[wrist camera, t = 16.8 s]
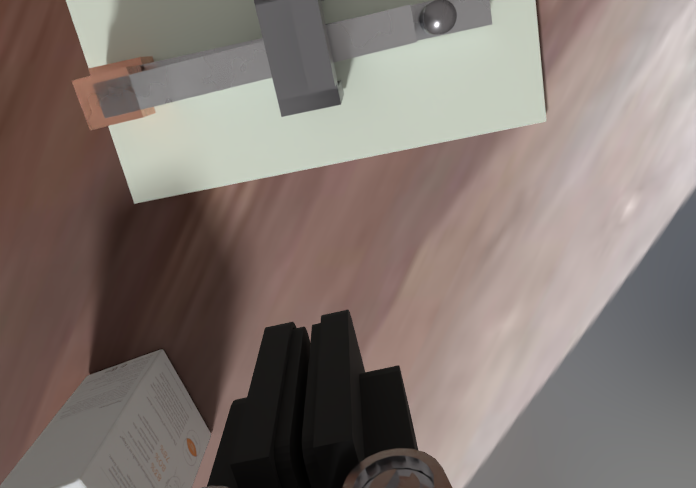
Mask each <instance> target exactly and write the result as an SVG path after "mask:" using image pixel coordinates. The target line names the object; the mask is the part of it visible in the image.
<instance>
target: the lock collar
mask: <svg viewBox="0 0 696 488" xmlns="http://www.w3.org/2000/svg"><path fill="white" fill-rule="evenodd" d="M321 1H324V0H254V4H255V8H256V12H257V16H258V20H259V25H260V29H261V33H262V37H263V41H264V46H265V50H266V54H267V58H268V62H269V66H270V71H271V75H272V79H273V83H274V87H275V92H276V96H277V100H278V104H279V108H280V113H281V117H284V116H289V115H294V114H298V113H303V112H308V111H313V110H318V109H322V108H327V107H332V106H337V105H341V103H342V100H343V96H344V91H343V86H342V81H341V80H340V81H337V78H336V73H335V68H334V63H333V58H332V53H331V49H330V44H329V39H328V34H327V29H326V24H325V19H324V14H323V9H322V4H321Z"/></svg>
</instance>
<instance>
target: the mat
mask: <svg viewBox="0 0 696 488" xmlns="http://www.w3.org/2000/svg"><path fill="white" fill-rule="evenodd" d="M428 1H433V0H324V1H321V4H322V9H323V14H324V19H325V24H328V23H333V22H337V21H342V20H346V19H351V18H356V17H360V16H365V15H369V14H374V13H378V12H382V11H386V10H390V9H394V8H398V7H402V6H406V5H415V4H419V3H424V2H428ZM66 2H67V5H68V8H69V11H70V14H71V17H72V20H73V23H74V26H75V29H76V32H77V35H78V37H79V40H80V43H81V46H82V49H83V52H84V55H85V58H86V61H87V64H88V67H89V68H93V67H97V66H102V65H106V64H111V63H115V62H120V61H124V60H129V59H133V58H138V57H147V56H152V57H153V60H154V62H156V61H160V60H165V59H169V58H174V57H179V56H183V55H188V54H192V53H197V52H201V51H206V50H210V49H215V48H219V47H224V46H228V45H233V44H238V43H242V42H247V41H251V40H256V39H260V38H263V37H262V33H261V29H260V25H259V20H258V16H257V12H256V8H255V4H254V0H66ZM490 7H491V16H492V25H487V26H483V27H478V28H473V29H469V30H464V31H459V32H455V33H450V34H445V35H441V36H436V37H432V38H427V39H422V40H418V41H417V42H416V43H412V44H408V45H404V46H400V47H395V48H391V49H387V50H383V51H379V52H375V53H371V54H367V55H363V56H359V57H355V58H350V59H346V60H342V61H338V62H334V68H335V73H336V78H337V81H340V80H341V81H342V86H343V91H344V96H343V100H342V103H341V105H337V106H332V107H327V108H322V109H318V110H313V111H308V112H303V113H298V114H294V115H289V116H284V117H281V113H280V108H279V104H278V100H277V96H276V92H275V87H274V83H273V79H272V78H269V79H265V80H260V81H256V82H252V83H248V84H244V85H240V86H236V87H232V88H228V89H224V90H220V91H215V92H211V93H207V94H203V95H199V96H195V97H191V98H187V99H183V100H179V101H175V102H170V103H166V104H162V105H158V106H154V109H155V112H156V113H154V114H151V115H149V116H146V117H143V118H139V119H134V120H130V121H126V122H122V123H118V124H114V125H110V126H108V127H109V130H110V133H111V136H112V139H113V141H114V144H115V147H116V150H117V153H118V156H119V159H120V162H121V165H122V168H123V171H124V174H125V177H126V180H127V183H128V186H129V189H130V192H131V195H132V198H133V201H134V204H135V203H140V202H145V201H150V200H155V199H160V198H165V197H170V196H175V195H180V194H185V193H190V192H195V191H200V190H205V189H211V188H216V187H221V186H226V185H231V184H236V183H241V182H246V181H251V180H256V179H261V178H266V177H271V176H276V175H281V174H286V173H291V172H296V171H301V170H306V169H311V168H316V167H321V166H326V165H331V164H336V163H341V162H346V161H351V160H356V159H361V158H366V157H371V156H376V155H381V154H386V153H391V152H396V151H401V150H406V149H411V148H416V147H421V146H426V145H431V144H436V143H441V142H446V141H451V140H456V139H461V138H466V137H471V136H476V135H481V134H486V133H491V132H496V131H501V130H506V129H511V128H516V127H521V126H526V125H531V124H536V123H541V122H546V111H545V100H544V89H543V78H542V67H541V56H540V45H539V34H538V23H537V12H536V1H535V0H490Z"/></svg>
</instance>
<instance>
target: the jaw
mask: <svg viewBox="0 0 696 488" xmlns="http://www.w3.org/2000/svg"><path fill="white" fill-rule="evenodd" d="M326 29H327V34H328V39H329V44H330V49H331V53H332V58H333V63H334V62H338V61H342V60H346V59H350V58H355V57H359V56H363V55H367V54H371V53H375V52H379V51H383V50H387V49H391V48H395V47H400V46H404V45H408V44H412V43H416V42H417V39H416V33H415V28H414V22H413V17H412V11H411V6H410V5H406V6H402V7H398V8H394V9H390V10H386V11H382V12H378V13H374V14H370V15H366V16H362V17H358V18H354V19H350V20H346V21H342V22H338V23H334V24H330V25H326ZM269 78H272V75H271V71H270V66H269V62H268V58H267V54H266V50H265V46H264V41H262V42H258V43H254V44H250V45H246V46H242V47H238V48H234V49H230V50H226V51H222V52H218V53H214V54H210V55H206V56H202V57H198V58H194V59H190V60H186V61H182V62H178V63H174V64H170V65H166V66H162V67H158V68H154V69H150V70H146V71H142V70H141V67H140V66H131V67H124V68H120V69H116V70H112V71H108V72H104V73H100V74H96V75H92V76H88V77H84V78H80V79H77V80H73V81H72V83H73V86H74V89H75V91H76V94H77V97H78V99H79V102H80V105H81V107H82V110H83V113H84V115H85V118H86V121H87V123H88V126H89V129H90V130H93V129H97V128H102V127H106V126H110V125H114V124H118V123H122V122H126V121H130V120H134V119H139V118H143V117H146V116H149V115H151V114H154V113H156V112H155V109H154V106H158V105H162V104H166V103H170V102H175V101H179V100H183V99H187V98H191V97H195V96H199V95H203V94H207V93H211V92H215V91H220V90H224V89H228V88H232V87H236V86H240V85H244V84H248V83H252V82H256V81H260V80H265V79H269Z"/></svg>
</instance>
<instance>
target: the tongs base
mask: <svg viewBox="0 0 696 488" xmlns="http://www.w3.org/2000/svg"><path fill="white" fill-rule="evenodd" d="M410 6H411V11H412V17H413V22H414V28H415V33H416V39H417V41H418V40H422V39H427V38H432V37H436V36H441V35H445V34H450V33H455V32H459V31H464V30H469V29H473V28H478V27H483V26H487V25H492V16H491V7H490V0H433V1H428V2H424V3H419V4H415V5H410ZM369 15H370V14H369ZM365 16H366V15H365ZM360 17H362V16H360ZM356 18H358V17H356ZM351 19H354V18H351ZM346 20H350V19H346ZM346 20H342V21H346ZM342 21H337V22H333V23H328V24H326V25H330V24H334V23H338V22H342ZM262 41H263V38H260V39H256V40H251V41H247V42H242V43H238V44H233V45H228V46H224V47H219V48H215V49H210V50H206V51H201V52H197V53H192V54H188V55H183V56H179V57H174V58H169V59H165V60H160V61H156V62H154V60H153V57H152V56H147V57H138V58H133V59H129V60H124V61H120V62H115V63H111V64H106V65H102V66H97V67H93V68H88V69H89V72H90V75H91V76H92V75H96V74H100V73H104V72H108V71H112V70H116V69H120V68H124V67H131V66H140V67H141V70H142V71H146V70H150V69H154V68H158V67H162V66H166V65H170V64H174V63H178V62H182V61H186V60H190V59H194V58H198V57H202V56H206V55H210V54H214V53H218V52H222V51H226V50H230V49H234V48H238V47H242V46H246V45H250V44H254V43H258V42H262Z"/></svg>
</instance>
